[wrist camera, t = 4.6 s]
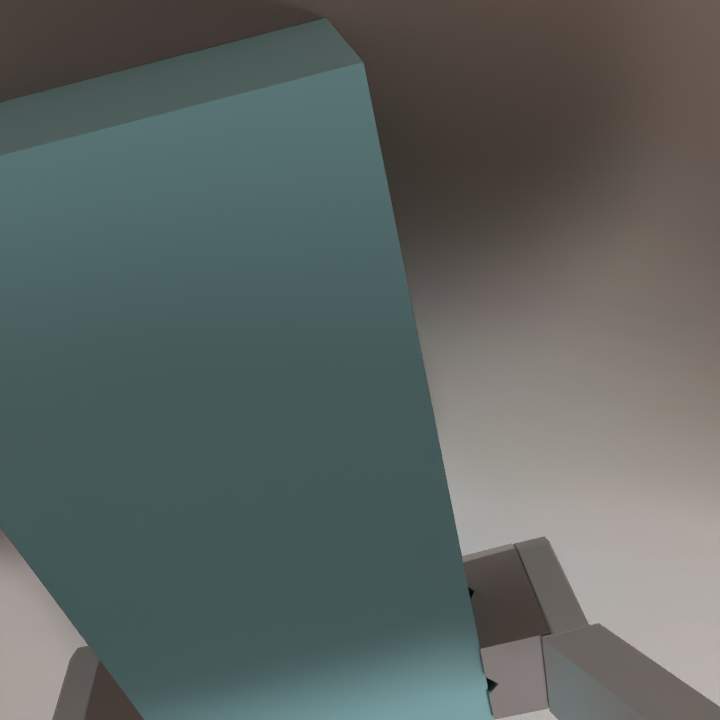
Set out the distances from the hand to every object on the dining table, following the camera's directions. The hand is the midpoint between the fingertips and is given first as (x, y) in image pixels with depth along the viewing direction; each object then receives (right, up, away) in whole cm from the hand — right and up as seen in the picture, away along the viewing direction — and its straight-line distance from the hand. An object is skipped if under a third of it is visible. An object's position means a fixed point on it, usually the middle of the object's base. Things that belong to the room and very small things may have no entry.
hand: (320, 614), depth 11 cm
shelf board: (0, +1, +2) cm, 2 cm away
